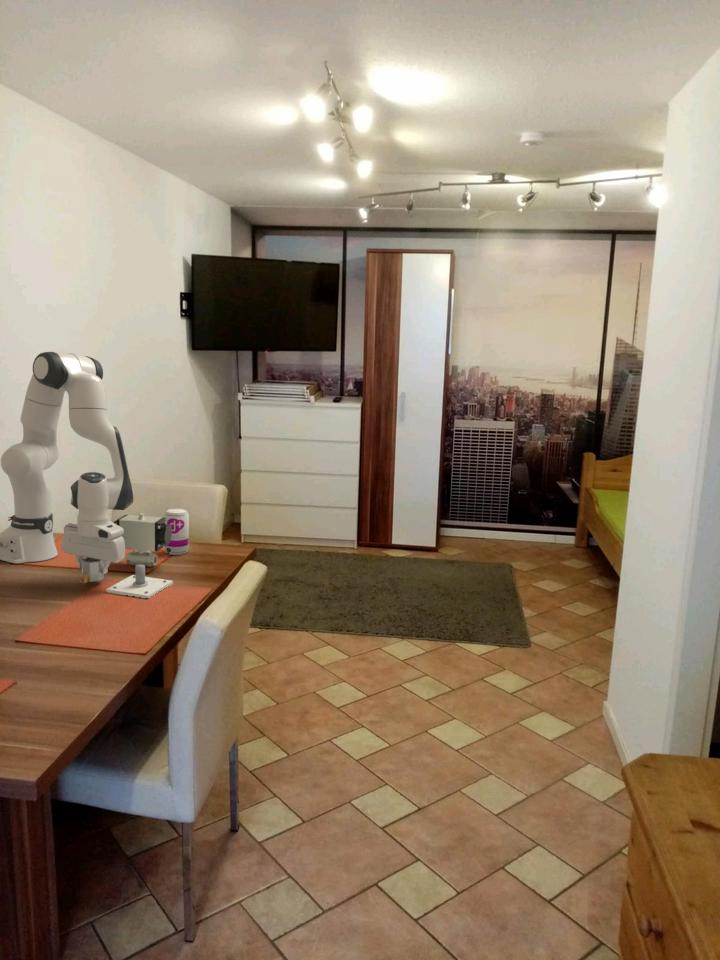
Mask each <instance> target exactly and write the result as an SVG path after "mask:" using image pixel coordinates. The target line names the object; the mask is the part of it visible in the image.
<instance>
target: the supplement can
mask: <svg viewBox="0 0 720 960" xmlns="http://www.w3.org/2000/svg"><path fill="white" fill-rule="evenodd" d="M164 517H165V518H166V522H167V524H169V525H170V526H171V529H172V536H171V540H170V543H169V544H168V545H165V546H164V552H165V554H167V553H169V554H168V555H170V554H171V555H170V556H181V555H185V554H188V552H189V550H190V549H189V547H190V543H189V542H190V539H189V538H190V535H189V533H190V527H189V526H190V515H189V512H188V510H187V509H184V508H178V507H177V508H170V509H169V508H167V510H166V512H165V513H164Z"/></svg>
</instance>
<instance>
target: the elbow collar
mask: <svg viewBox="0 0 720 960" xmlns="http://www.w3.org/2000/svg"><path fill="white" fill-rule="evenodd" d="M104 564H105V563H103V560H100V559H94V558H89V557H83V559H82V570H81V576H80V583H81V584H86V583H88V582H90V583H92V582H100V581H102V580H103V579H104V578H105V574H102V573H100V568H101V567H103V566H104Z"/></svg>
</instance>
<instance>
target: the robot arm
mask: <svg viewBox="0 0 720 960" xmlns="http://www.w3.org/2000/svg"><path fill="white" fill-rule="evenodd" d="M103 378H104V369H103V365H102V364H101V362H100V361H99V360H97V359H95V358H93V357H90V356H86V355H85V356H84V355H81V354H77V353H71V352H70V353H69V352H68V353H65V352H55V351H43V352H40V353H38V354H37V356H36V357H35V358H34V360H33V363H32V376H31V377H30V380H29V382H28V385H27V389H26V392H25V396H24V401H23V405H22V406H23V407H22V411H21V416H20V423H21V424H22V428H23V430H22V431H23V432H22V433H23V436H22V440H21V442H19V443H15V444H13V445H11V446H10V447H8V448H7V449H6V450H5V451H4V452H3V453H2V454H1V457H0V466H1V469H2V471H3V472H4V474H6V475H7V476H8V479H9V482H10V486H11V488H12V489H11V490H12V493H13V502H14V503H13V504H14V514H13V515H12V516H10V517H9V516H8V520H7V521H8V522H11V523H10V525H9V526H8V527H7V528H5V529H4V530H3V531H2V532H0V560H1V561H5V562H7V563H12V564H22V563H33V562H43V561H47V560H51V559H54V558H55V557H57V556H58V554H59V552H58V550H57V549H58V548H57V547H56V542H55V537H54V532H53V528H54V526H53V525H54V518H53V517H54V515H53V512H52V502H51V501H52V500H51V499H52V498H51V497H52V496H51V490H50V489H49V487H47V485H46V481H45V477H44V471H45V470H48V469H49V468H51V467H52V466H53V465H54V464H55V463H56V462H57V460H58V458H59V455H60V452H59V447H58V445H57V442H58V441H57V432H58V431H57V429H58V424H59V419H60V415H61V412H62V411H61V410H62V406H63V401H64V396H65V393H67V395H68V419H69V424H70V427H71V429H72V431H73V432H75V433H76V435H78V436H80V437H81V438H83V439H86V440H89V441H91V442H95V443H98V444H99V445H100V446H101V445H102V446H103V447H105V448H106V449H107V450H108V452H109V454H110V458H111V459H110V460H111V462H112V467H113V472H114V473H113V474H114V477H111V478H107V477H106V475H105V474H103V473H101V472H96V471H95V472H94V471H90V472H89V471H88V472H85V473H82V474H81V475H80V476H79V477H78V479H77V480H75V481H74V482H73V483H72V485H71V486H70V491H71V493H70V494H71V499H70V505H72V507H74V508H75V509H76V510H78V513H77V519H76V521H77V523H71V522H69V523H67V524H65V525H64V526H63V537H62V544H61V550H62V551H63V553H64V554H68V555H74V556H75V559H76V561H77V564H78V569H79V570H81V571H82V559H83V558H85V557H89V558H94V559H100V560H103V563H104V566H103V567H101V568H100V573H102V574H104V575H105V574H107V573H108V568H109V566H110V564H111V562H112V563H119V562H122V561H123V560H124V559H126V549H125V541H124V538H123V537H122V536H121V535H122V534H123V533H124V529H123V528H122V527H120V526H118V525H116V524H115V523H113V522H114V521H111V520H110V519H109V518H110V516H109V512H108V510H116V511H125V510H127V509H128V508H129V507H130V506H131V505H132V504H133V503H134V500H135V499H134V498H135V491H134V487H133V485H132V481H131V478H130V474H129V470H128V464H127V458H126V455H125V450H124V449H125V448H124V445H123V441H122V437H121V433H120V432H119V430H118V427H116V426H114V425H113V424H112V423H111V421H110V419H109V416H108V405H107V395H106V390H105V385H104V382H103Z"/></svg>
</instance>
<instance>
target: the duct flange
mask: <svg viewBox="0 0 720 960" xmlns="http://www.w3.org/2000/svg"><path fill="white" fill-rule="evenodd" d="M134 571H135V574H132V575H130V576H127V577H126V578H124V579H122V580H121V581H118V582H117V583H115V584H114V585H112V586H109V587H108V588H106V589H105V592H106V593H109V594H114V595H115V594H116V595H119V596H120V595H121V596H126V595H128V597H132V596H135V597H134V598H139V597H141V598H140V599H145V598H149V599H151V598H152V597H151V596H153V595H154V596H156V595H157V594H156V593H158V592H159V591H161V590H162V591H164V590H165V589H164V588H166V587H167V588H169V587H171V586H172V585H173V584H174V581H173V580H168V579H163V578H156V577H151V576H146V566H145V565H142V564H139V565H136V566H134ZM168 586H169V587H168ZM167 588H166V589H167ZM163 589H164V590H163ZM162 591H161V592H162ZM159 593H160V592H159ZM159 593H158V594H159ZM155 594H156V595H155ZM154 596H153V597H154ZM150 597H151V598H150Z"/></svg>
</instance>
